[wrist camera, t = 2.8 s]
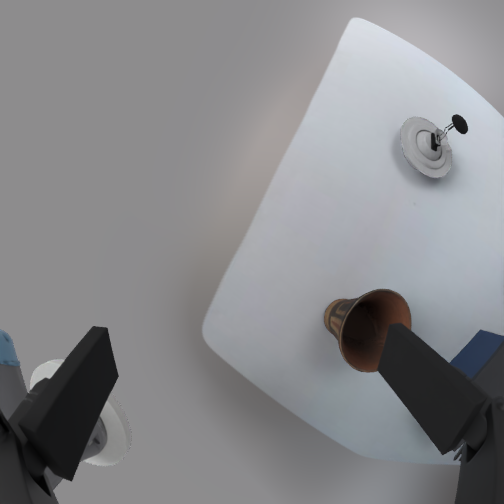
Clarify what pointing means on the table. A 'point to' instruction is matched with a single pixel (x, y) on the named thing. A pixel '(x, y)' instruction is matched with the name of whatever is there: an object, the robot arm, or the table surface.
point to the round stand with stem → (429, 145)
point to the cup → (365, 325)
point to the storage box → (483, 363)
